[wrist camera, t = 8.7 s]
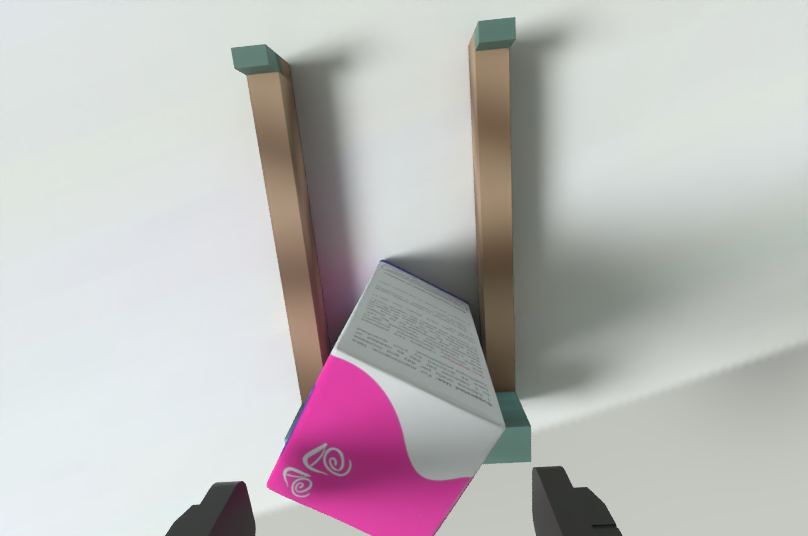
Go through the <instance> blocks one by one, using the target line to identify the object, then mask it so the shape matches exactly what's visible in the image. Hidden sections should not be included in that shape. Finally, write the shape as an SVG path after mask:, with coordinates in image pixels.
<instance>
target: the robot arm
mask: <svg viewBox="0 0 808 536" xmlns="http://www.w3.org/2000/svg"><path fill="white" fill-rule="evenodd" d="M532 513H533V521H534V527H535V532H536V536H622V534H621V532H620V531H619V529H618V528H617V527H616V523H615V521H614V520H613V518H612V516H611V514H610V512H609V511H608V509H607V507H606V505H605V504H604V503H603V502H602V501H601V500H600V499H599V498H598V497H597V496H596V495H595V494H594V493H593V492H592V491H590V489H588V488H587V487H580V488H573V486H572V484H571V482H570V480H569V478H568V476H567V474H566V472H565V470H564V468H563V467H561V466H552V467H534V468H533V471H532ZM255 530H256V528H255V520H254V516H253V512H252V508H251V503H250V499H249V495H248V491H247V487H246V484H245V483H244V482H243V481H238V482H218V483H215V484H213V485H212V486H211V488H210V489H209V491H208V492H207V494H206V496H205V497H204V499H203V500H202V502H201V504H200V505H192V506H191V507H190V508H189V509H188V510H187V511H186V512H185V513H184V514H183V515H182V516H180V517H179V518H178V519H177V520H176V521H175V522H174V523H173V525H172V526H171V528H170V529H169V531H168V532H167V534H166V535H165V536H255Z"/></svg>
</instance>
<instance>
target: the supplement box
mask: <svg viewBox="0 0 808 536" xmlns="http://www.w3.org/2000/svg"><path fill="white" fill-rule="evenodd" d="M468 304H469V303H468V302H466V301H464V300H462V299H461V298H459V297H457V296H455V295H453V294H451V293H449V292H446V291H444V290H442V289H440V288H438V287H436V286H434V285H432V284H430V283H428V282H426V281H424V280H423V279H421V278H419V277H417V276H415V275H413V274H411V273H409V272H407V271H405V270H403V269H401V268H399V267H397V266H395V265H393V264H391V263H389V262H387V261H385V260H381V261H380V262H379V264H378V265H377V267H376V269H375V271H374V273H373V274H372V276H371V278H370V280H369V282H368V284H367V286H366V288H365V290H364V291H363V293H362V295H361V297H360V299H359V301H358V303H357V304H356V306H355V308H354V310H353V312H352V314H351V316H350V318H349V319H348V321H347V323H346V325H345V327H344V329H343V331H342V333H341V334H340V336H339V338H338V340H337V342H336V344H335V346H334V348H333V350H332V352H331V354H330V355H329V357H328V359H327V361H326V363H325V365H324V367H323V369H322V371H321V373H320V375H319V377H318V379H317V381H316V383H315V385H314V387H313V389H312V391H311V393H310V395H309V397H308V399H307V401H306V403H305V405H304V407H303V409H302V411H301V413H300V415H299V417H298V419H297V421H296V423H295V426H294V428H293V430H292V432H291V434H290V436H289V438H288V440H287V442H286V444H285V446H284V448H283V450H282V452H281V455H280V457H279V459H278V461H277V463H276V465H275V467H274V469H273V471H272V473H271V475H270V478H269V480H268V482H267V488H269V489H270V490H272V491H274V492H276V493H278V494H280V495H282V496H285V497H287V498H289V499H292V500H294V501H296V502H298V503H300V504H303V505H305V506H308V507H310V508H312V509H315V510H317V511H319V512H322V513H324V514H326V515H329V516H331V517H333V518H335V519H337V520H340V521H342V522H344V523H346V524H348V525H350V526H352V527H355V528H357V529H359V530H361V531H363V532H365V533H367V534H369V535H371V536H434V535H435V533H436V532H437V531H438V529H439V528H440V526H441V525H442V523H443V522H444V520H445V519H446V517H447V516H448V514H449V513H450V512H451V510H452V509H453V507H454V506H455V504H456V503H457V502H458V500H459V498H460V497H461V495H462V494H463V492H464V491H465V489H466V488H467V486H468V485H469V483H470V482H471V480H472V479H473V477H474V476H475V474H476V473H477V471H478V470H479V468H480V466H481V465H482V463H483V462H484V460H485V459H486V458H487V456H488V454H489V453H490V451H491V450H492V448H493V447H494V446H495V444H496V442H497V441H498V439H499V438H500V437H501V435H502V434H503V432H504V431H505V428H506V427H505V423H504V420H503V417H502V413H501V410H500V407H499V403H498V400H497V397H496V394H495V390H494V387H493V384H492V381H491V378H490V374H489V371H488V368H487V364H486V361H485V358H484V355H483V352H482V348H481V345H480V341H479V338H478V335H477V331H476V328H475V325H474V321H473V318H472V315H471V312H470V308H469V305H468Z"/></svg>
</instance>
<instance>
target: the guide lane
mask: <svg viewBox="0 0 808 536" xmlns="http://www.w3.org/2000/svg"><path fill="white" fill-rule="evenodd" d="M515 39H516V31H515V17H513V18H503V19H494V20H485V21H478V24H477V26H476V29H475V31H474V33H473V36H472V38H471V41H470V43H469V46H468V47H469V71H470V95H471V120H472V144H473V168H474V192H475V216H476V241H477V265H478V289H479V313H480V337H481V348H482V352H483V355H484V358H485V361H486V364H487V368H488V371H489V374H490V378H491V381H492V384H493V387H494V390H495V394H496V397H497V400H498V403H499V407H500V410H501V413H502V417H503V420H504V423H505V427H506V428H505V431H504V432H503V434H502V435H501V437H500V438H499V439H498V441H497V442H496V444H495V446H494V447H493V448H492V450H491V451H490V453H489V454H488V456H487V458H486V459H485V460H484V462H483V463H482V464H492V463H513V462H531V425H530V423H529V421H528V419H527V416H526V414H525V412H524V410H523V408H522V405H521V403H520V401H519V399H518V396H517V394H516V392H515V349H514V295H513V241H512V187H511V133H510V80H509V47H510V46H511V44H512V43H513V42H514V40H515ZM231 51H232V56H233V62H234V68H235V69H236V70H238V71H240V72H242V73H244V74H245V75H247V81H248V87H249V93H250V99H251V105H252V110H253V116H254V122H255V128H256V134H257V140H258V146H259V152H260V158H261V164H262V170H263V176H264V181H265V187H266V193H267V199H268V205H269V211H270V217H271V223H272V229H273V235H274V241H275V246H276V252H277V258H278V264H279V270H280V276H281V282H282V288H283V294H284V300H285V306H286V312H287V317H288V323H289V329H290V335H291V341H292V347H293V353H294V359H295V365H296V371H297V377H298V382H299V388H300V394H301V400H302V405H301V407H300V409H299V411H298V413H297V415H296V417H295V419H294V421H293V423H292V425H291V427H290V429H289V431H288V433H287V435H286V437H285V444H286V442H287V440H288V438H289V436H290V434H291V432H292V430H293V428H294V426H295V423H296V421H297V419H298V417H299V415H300V413H301V411H302V409H303V407H304V405H305V403H306V401H307V399H308V397H309V395H310V393H311V391H312V389H313V387H314V385H315V383H316V381H317V379H318V377H319V375H320V373H321V371H322V369H323V367H324V365H325V363H326V361H327V359H328V357H329V355H330V354H331V350H330V343H329V336H328V329H327V322H326V315H325V308H324V301H323V294H322V287H321V280H320V273H319V266H318V259H317V252H316V245H315V238H314V232H313V225H312V218H311V211H310V204H309V197H308V190H307V183H306V176H305V169H304V162H303V155H302V148H301V141H300V134H299V127H298V120H297V113H296V106H295V99H294V92H293V85H292V78H291V71H290V65H289V64H288V63H287V62H286V61H285V60H284V59H282V58H281V57H280V56H279V55H278V54H276V53H275V52H274V51H273V50H272V49H270V48H269V47H268V46H267V45H266V44H263V45H254V46H245V47H235V48H231Z"/></svg>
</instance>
